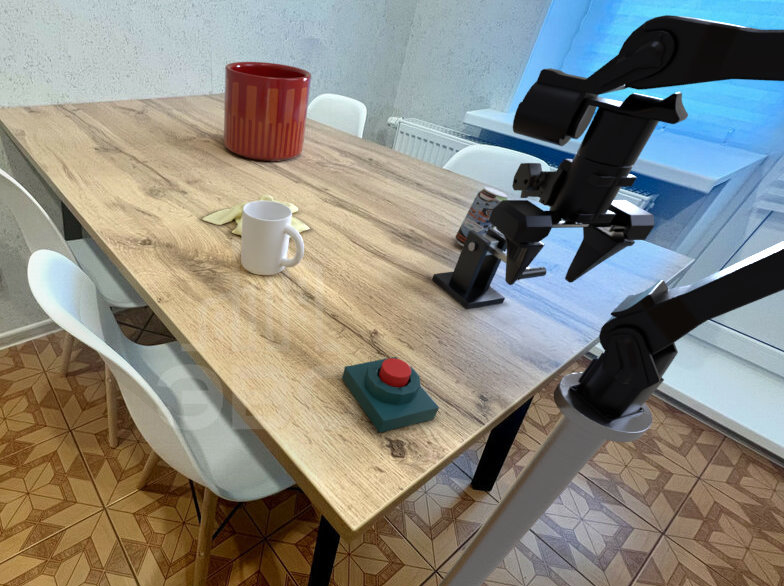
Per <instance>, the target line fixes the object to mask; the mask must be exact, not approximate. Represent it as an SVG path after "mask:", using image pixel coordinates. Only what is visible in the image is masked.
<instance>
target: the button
mask: <svg viewBox="0 0 784 586" xmlns="http://www.w3.org/2000/svg"><path fill="white" fill-rule="evenodd" d="M389 358H390V359H387V358H385V359H386V360H385V361H384V362H383V363H382V366H381V369H380V373H379V378H380V380H381V381H382V382H383V383H385V384H387V385H389V386H392V387H398V388H400V387H403V386H405V385H406V384H407V382H408V380H409V377H410V374H411V368H410V366H411V365H409V364H408V363H407V362H406V361H404V360H402V359H400V358H397V359H395V358H392V357H389Z"/></svg>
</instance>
